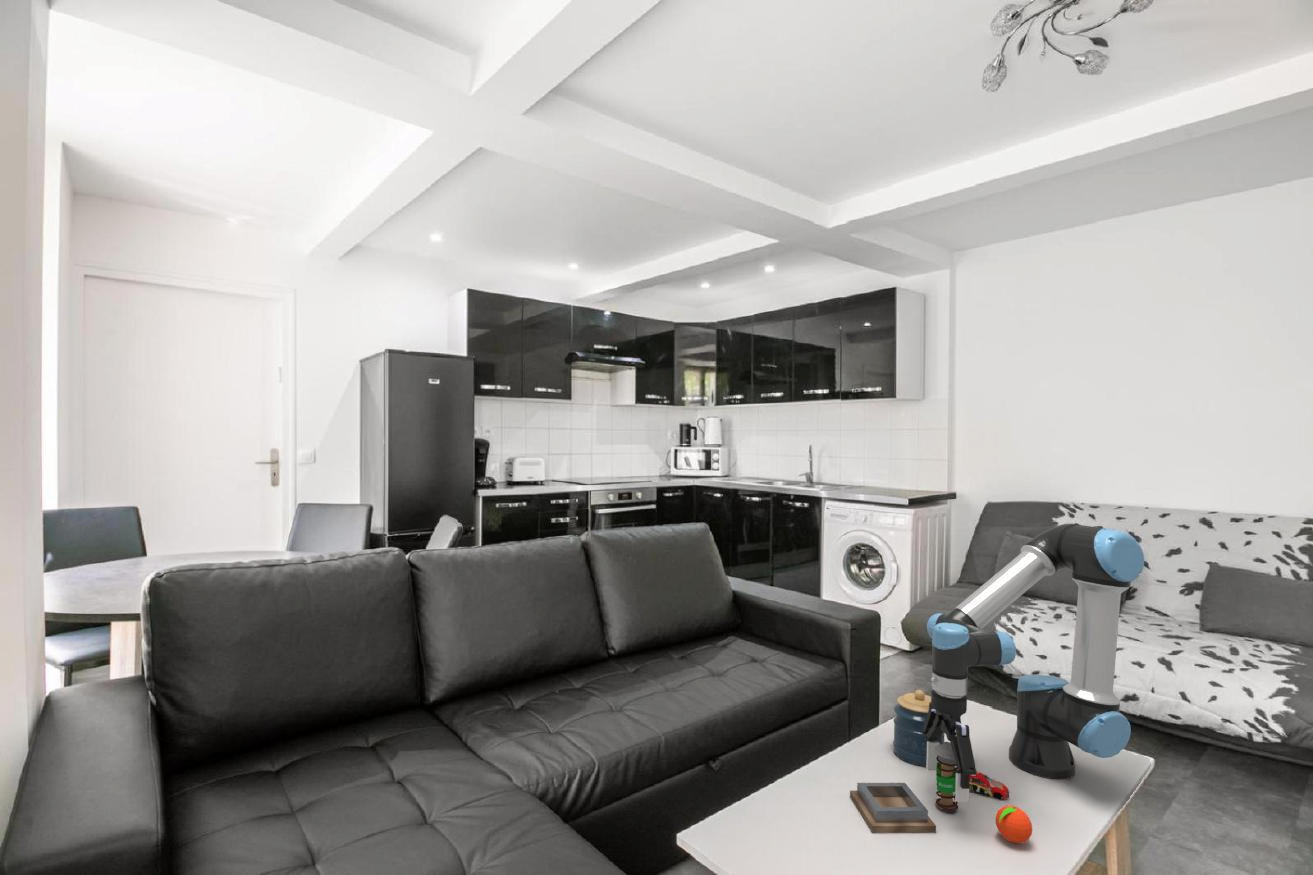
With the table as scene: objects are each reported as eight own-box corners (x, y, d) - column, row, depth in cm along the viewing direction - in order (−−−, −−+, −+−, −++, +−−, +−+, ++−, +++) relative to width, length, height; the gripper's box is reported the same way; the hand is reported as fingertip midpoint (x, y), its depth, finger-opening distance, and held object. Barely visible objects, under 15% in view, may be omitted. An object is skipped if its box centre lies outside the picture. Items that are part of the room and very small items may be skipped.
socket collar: (904, 793, 151) (905, 782, 151) (927, 822, 139) (928, 810, 139) (857, 793, 150) (857, 782, 150) (876, 822, 139) (876, 811, 139)
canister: (948, 752, 175) (949, 688, 175) (940, 773, 164) (941, 704, 164) (898, 740, 182) (899, 678, 182) (888, 758, 171) (889, 692, 171)
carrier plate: (907, 796, 152) (907, 790, 152) (936, 832, 138) (936, 825, 138) (849, 796, 152) (850, 790, 152) (872, 833, 138) (872, 826, 138)
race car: (1009, 794, 155) (1010, 777, 155) (1008, 804, 150) (1009, 787, 150) (950, 778, 162) (950, 762, 162) (947, 787, 157) (948, 771, 157)
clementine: (1013, 855, 131) (1014, 820, 131) (984, 836, 138) (984, 802, 138) (1039, 846, 134) (1040, 812, 134) (1009, 827, 141) (1010, 795, 141)
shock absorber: (928, 809, 147) (929, 744, 147) (936, 797, 152) (937, 734, 152) (957, 820, 143) (958, 753, 143) (965, 808, 148) (966, 743, 148)
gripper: (909, 672, 160) (907, 757, 160) (961, 715, 135) (958, 815, 135) (938, 673, 160) (936, 757, 160) (995, 715, 135) (993, 816, 135)
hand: (946, 784), depth 148 cm, fingers open, 13 cm apart
